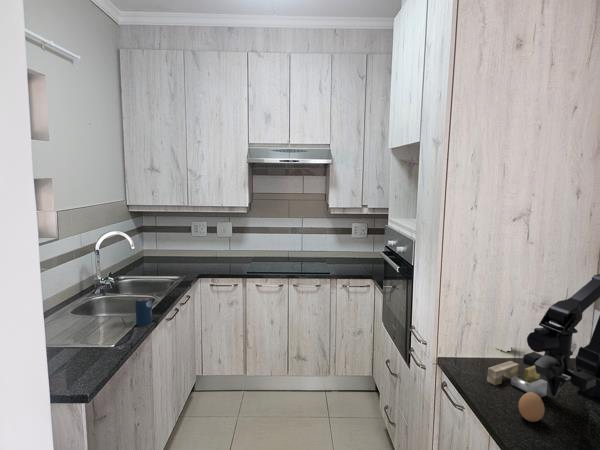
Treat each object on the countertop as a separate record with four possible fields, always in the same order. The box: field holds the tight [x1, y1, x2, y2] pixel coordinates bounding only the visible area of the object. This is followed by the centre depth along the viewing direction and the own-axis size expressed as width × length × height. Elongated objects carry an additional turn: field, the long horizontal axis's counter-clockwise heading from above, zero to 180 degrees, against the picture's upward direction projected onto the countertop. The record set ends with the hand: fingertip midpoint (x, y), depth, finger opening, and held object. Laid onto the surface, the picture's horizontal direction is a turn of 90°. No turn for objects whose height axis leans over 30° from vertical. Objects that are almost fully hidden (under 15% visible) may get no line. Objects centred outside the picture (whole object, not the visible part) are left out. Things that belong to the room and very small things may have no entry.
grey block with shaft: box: [510, 376, 549, 399], centre depth 132 cm, size 9×7×5 cm
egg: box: [518, 392, 545, 423], centre depth 116 cm, size 6×6×8 cm
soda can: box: [134, 296, 153, 328], centre depth 183 cm, size 7×7×12 cm
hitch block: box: [486, 360, 520, 386], centre depth 139 cm, size 3×12×5 cm, turn 118°
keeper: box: [523, 365, 541, 383], centre depth 138 cm, size 1×7×5 cm, turn 118°
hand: (554, 395), depth 124 cm, fingers closed
